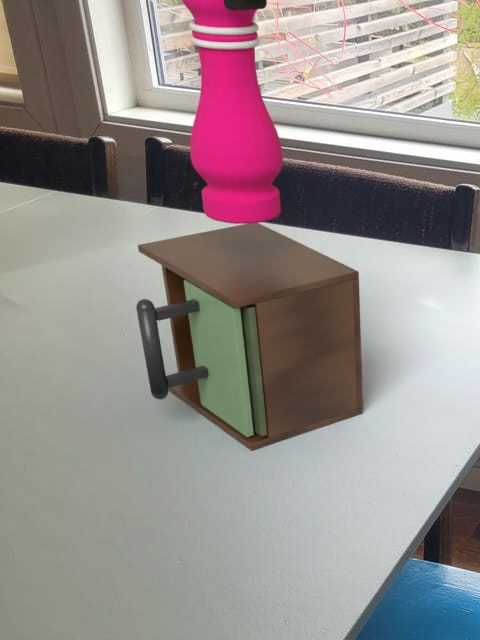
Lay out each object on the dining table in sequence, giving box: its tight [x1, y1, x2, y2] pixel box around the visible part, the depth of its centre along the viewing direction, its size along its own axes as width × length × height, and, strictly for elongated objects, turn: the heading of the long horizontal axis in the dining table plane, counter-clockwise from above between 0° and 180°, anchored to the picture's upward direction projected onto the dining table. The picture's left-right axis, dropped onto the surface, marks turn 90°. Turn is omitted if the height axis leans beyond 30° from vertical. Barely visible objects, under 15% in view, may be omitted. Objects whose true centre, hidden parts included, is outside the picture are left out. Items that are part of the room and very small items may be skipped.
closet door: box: [135, 280, 254, 437], centre depth 83 cm, size 6×8×11 cm
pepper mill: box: [181, 0, 284, 225], centre depth 76 cm, size 7×7×20 cm
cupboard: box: [137, 222, 364, 451], centre depth 89 cm, size 12×16×13 cm
